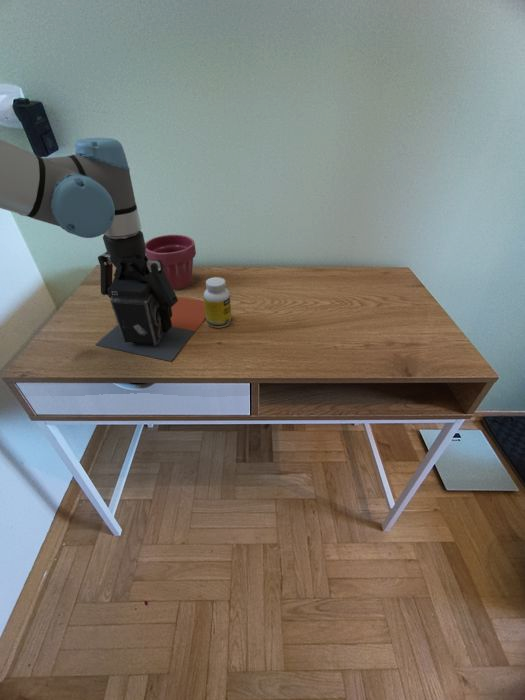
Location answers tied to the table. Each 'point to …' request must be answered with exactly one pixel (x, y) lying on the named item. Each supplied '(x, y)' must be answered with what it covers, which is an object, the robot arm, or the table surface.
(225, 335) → the table surface
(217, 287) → the pill bottle
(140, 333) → the camera
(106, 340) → the desk mat
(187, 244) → the flower pot
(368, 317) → the table surface
